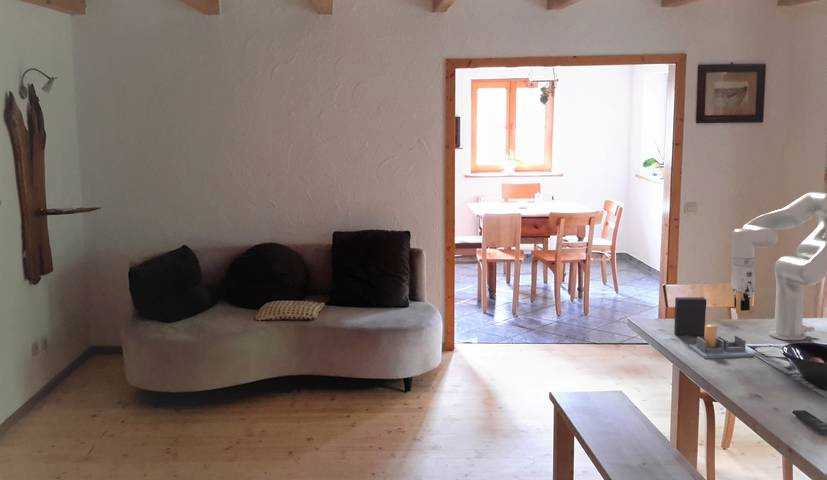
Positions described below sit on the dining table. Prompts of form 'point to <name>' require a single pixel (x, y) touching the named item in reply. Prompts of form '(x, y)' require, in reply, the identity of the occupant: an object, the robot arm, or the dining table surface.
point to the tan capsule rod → (739, 303)
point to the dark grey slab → (690, 316)
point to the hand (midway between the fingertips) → (741, 308)
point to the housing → (719, 345)
